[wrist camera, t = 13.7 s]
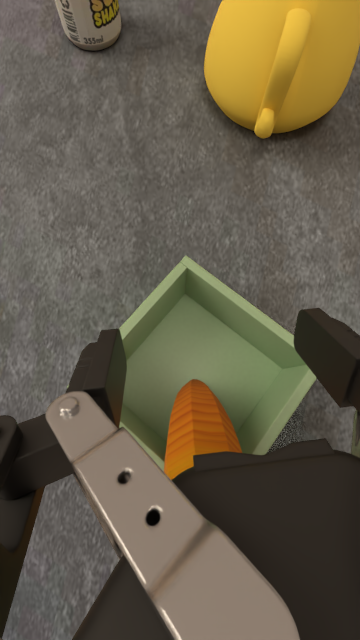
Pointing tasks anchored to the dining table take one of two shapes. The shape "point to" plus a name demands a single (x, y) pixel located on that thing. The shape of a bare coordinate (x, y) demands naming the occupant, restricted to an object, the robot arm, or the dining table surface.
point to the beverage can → (90, 22)
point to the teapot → (281, 60)
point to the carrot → (197, 428)
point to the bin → (208, 361)
